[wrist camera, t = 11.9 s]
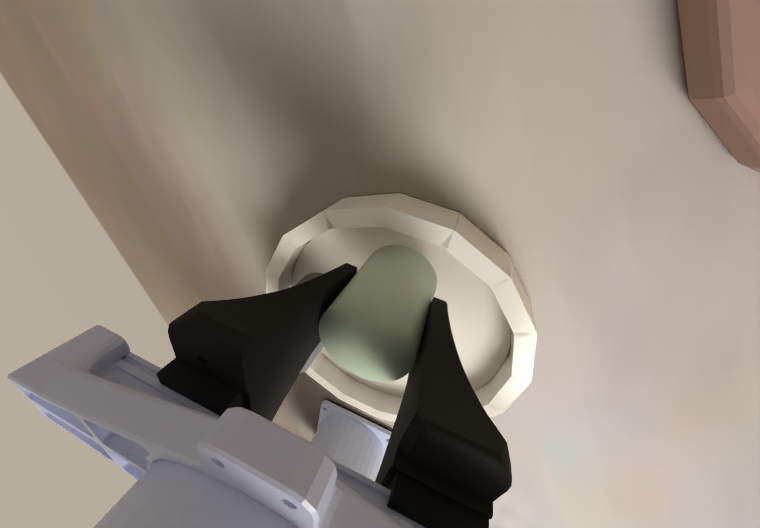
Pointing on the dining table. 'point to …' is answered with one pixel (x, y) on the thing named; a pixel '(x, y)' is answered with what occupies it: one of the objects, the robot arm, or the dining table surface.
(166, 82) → the dining table surface
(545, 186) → the dining table surface
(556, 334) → the dining table surface
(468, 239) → the groove tray
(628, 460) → the dining table surface
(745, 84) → the hourglass
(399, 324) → the pale green rounded block
